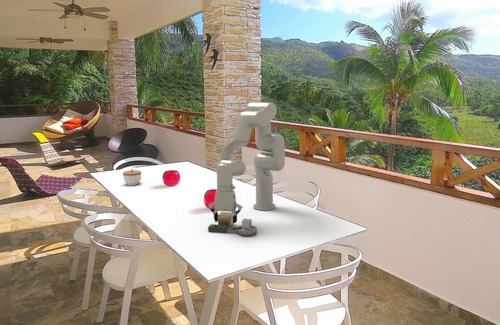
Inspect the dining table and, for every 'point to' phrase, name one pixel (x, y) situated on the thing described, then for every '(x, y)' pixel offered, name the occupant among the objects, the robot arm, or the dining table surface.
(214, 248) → the dining table surface
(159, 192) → the dining table surface
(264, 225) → the dining table surface
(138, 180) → the lidded bowl
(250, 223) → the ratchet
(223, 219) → the brushed gold cube
